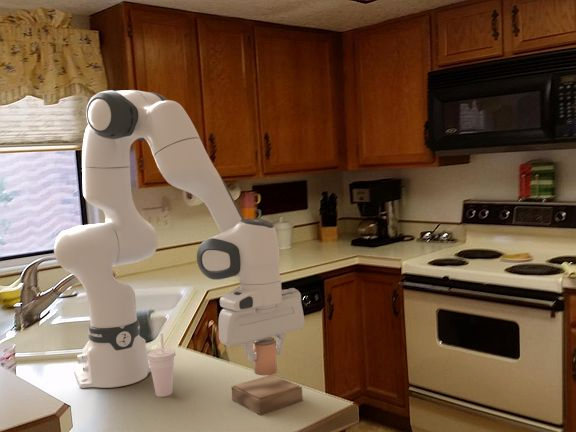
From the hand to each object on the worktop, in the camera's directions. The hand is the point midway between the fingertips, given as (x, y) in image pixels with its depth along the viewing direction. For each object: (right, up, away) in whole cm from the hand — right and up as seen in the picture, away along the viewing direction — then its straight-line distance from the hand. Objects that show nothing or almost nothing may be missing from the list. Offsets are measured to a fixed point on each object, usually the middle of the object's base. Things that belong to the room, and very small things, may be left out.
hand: (265, 357), depth 131 cm
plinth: (0, -10, +1) cm, 10 cm away
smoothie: (-23, -10, +8) cm, 27 cm away
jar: (0, -3, 0) cm, 3 cm away
